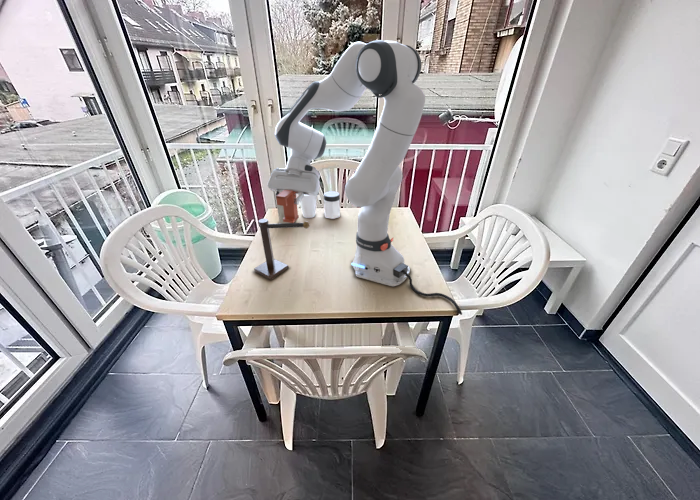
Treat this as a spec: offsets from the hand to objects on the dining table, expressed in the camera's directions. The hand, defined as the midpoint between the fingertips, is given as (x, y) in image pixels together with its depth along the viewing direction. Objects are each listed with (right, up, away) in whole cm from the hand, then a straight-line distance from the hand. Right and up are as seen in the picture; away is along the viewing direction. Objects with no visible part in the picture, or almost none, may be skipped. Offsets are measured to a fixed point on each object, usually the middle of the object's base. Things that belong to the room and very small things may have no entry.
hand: (289, 203), depth 108 cm
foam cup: (+2, 0, +42) cm, 42 cm away
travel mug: (-9, -4, +36) cm, 37 cm away
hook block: (-1, -7, +3) cm, 7 cm away
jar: (+14, 0, +42) cm, 45 cm away
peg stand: (-2, -25, +2) cm, 26 cm away
